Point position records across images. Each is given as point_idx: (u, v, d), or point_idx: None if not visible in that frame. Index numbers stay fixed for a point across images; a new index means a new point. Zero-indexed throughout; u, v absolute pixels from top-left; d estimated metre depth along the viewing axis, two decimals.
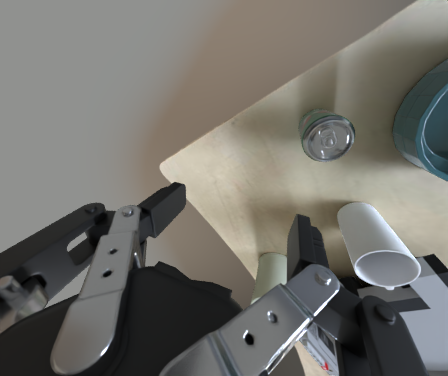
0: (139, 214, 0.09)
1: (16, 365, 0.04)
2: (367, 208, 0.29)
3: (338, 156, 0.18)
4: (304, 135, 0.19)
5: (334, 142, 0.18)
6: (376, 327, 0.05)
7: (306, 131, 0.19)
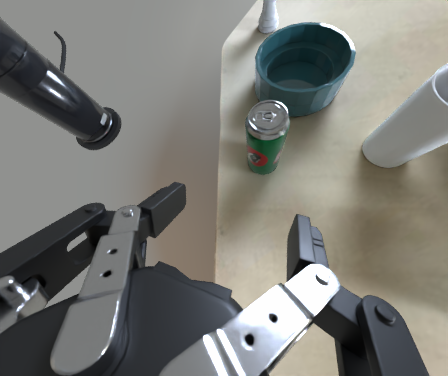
0: (139, 214, 0.09)
1: (16, 365, 0.04)
2: (371, 134, 0.26)
3: (285, 111, 0.19)
4: (254, 136, 0.19)
5: (270, 112, 0.19)
6: (376, 327, 0.05)
7: (251, 134, 0.19)
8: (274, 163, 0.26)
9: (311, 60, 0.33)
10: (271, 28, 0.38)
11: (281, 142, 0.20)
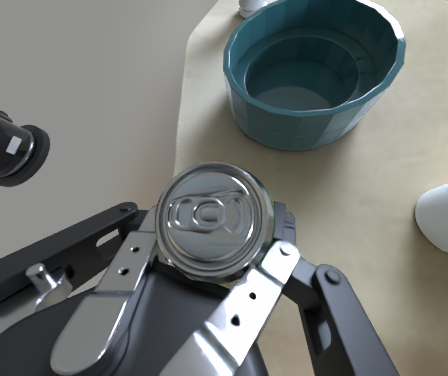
0: None
1: (16, 365, 0.04)
2: (439, 196, 0.14)
3: (260, 203, 0.06)
4: None
5: (216, 202, 0.06)
6: (323, 287, 0.06)
7: None
8: None
9: (318, 58, 0.21)
10: None
11: None
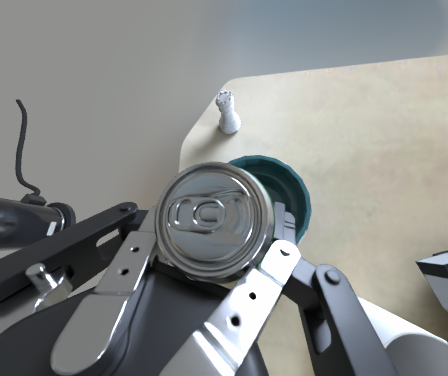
0: None
1: (16, 365, 0.04)
2: None
3: (260, 204, 0.06)
4: None
5: (216, 202, 0.06)
6: (323, 286, 0.06)
7: None
8: None
9: (271, 183, 0.30)
10: (233, 130, 0.35)
11: None
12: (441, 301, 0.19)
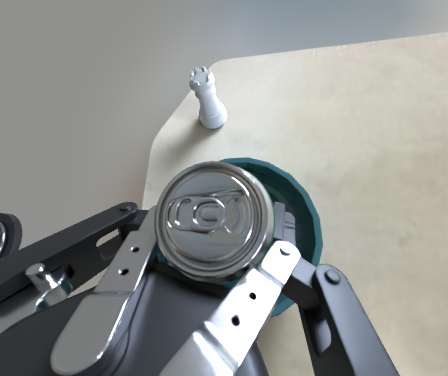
0: None
1: (16, 365, 0.04)
2: None
3: (260, 203, 0.06)
4: None
5: (216, 202, 0.06)
6: (323, 286, 0.06)
7: None
8: None
9: None
10: (216, 124, 0.27)
11: None
12: None
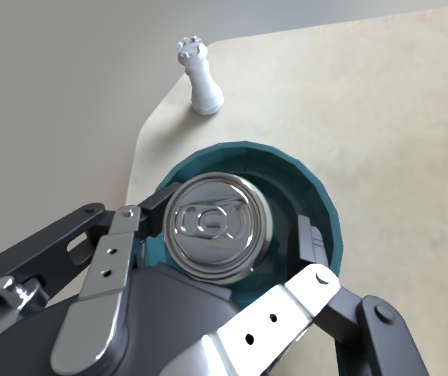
0: (139, 214, 0.09)
1: (16, 365, 0.04)
2: None
3: (259, 212, 0.07)
4: None
5: (219, 210, 0.07)
6: (376, 327, 0.05)
7: None
8: None
9: (267, 188, 0.18)
10: (211, 110, 0.23)
11: None
12: None
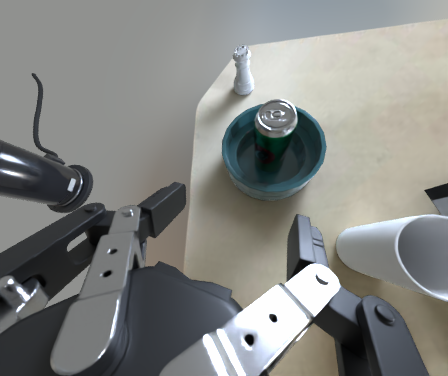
0: (139, 214, 0.09)
1: (16, 365, 0.04)
2: (343, 236, 0.24)
3: (293, 110, 0.19)
4: (263, 134, 0.20)
5: (278, 111, 0.20)
6: (376, 327, 0.05)
7: (260, 132, 0.20)
8: (280, 160, 0.26)
9: None
10: (247, 91, 0.36)
11: (288, 139, 0.21)
12: None
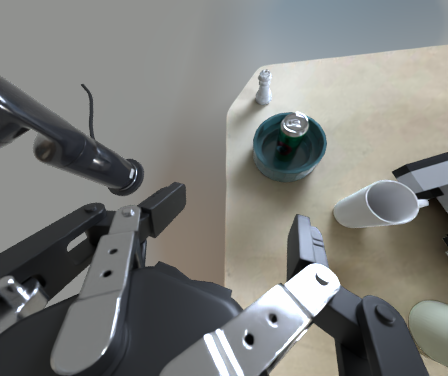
0: (139, 214, 0.09)
1: (16, 365, 0.04)
2: (338, 203, 0.35)
3: (306, 119, 0.31)
4: (286, 134, 0.32)
5: (296, 120, 0.31)
6: (376, 327, 0.05)
7: (284, 133, 0.32)
8: (295, 153, 0.38)
9: None
10: (266, 102, 0.48)
11: (302, 138, 0.33)
12: None
